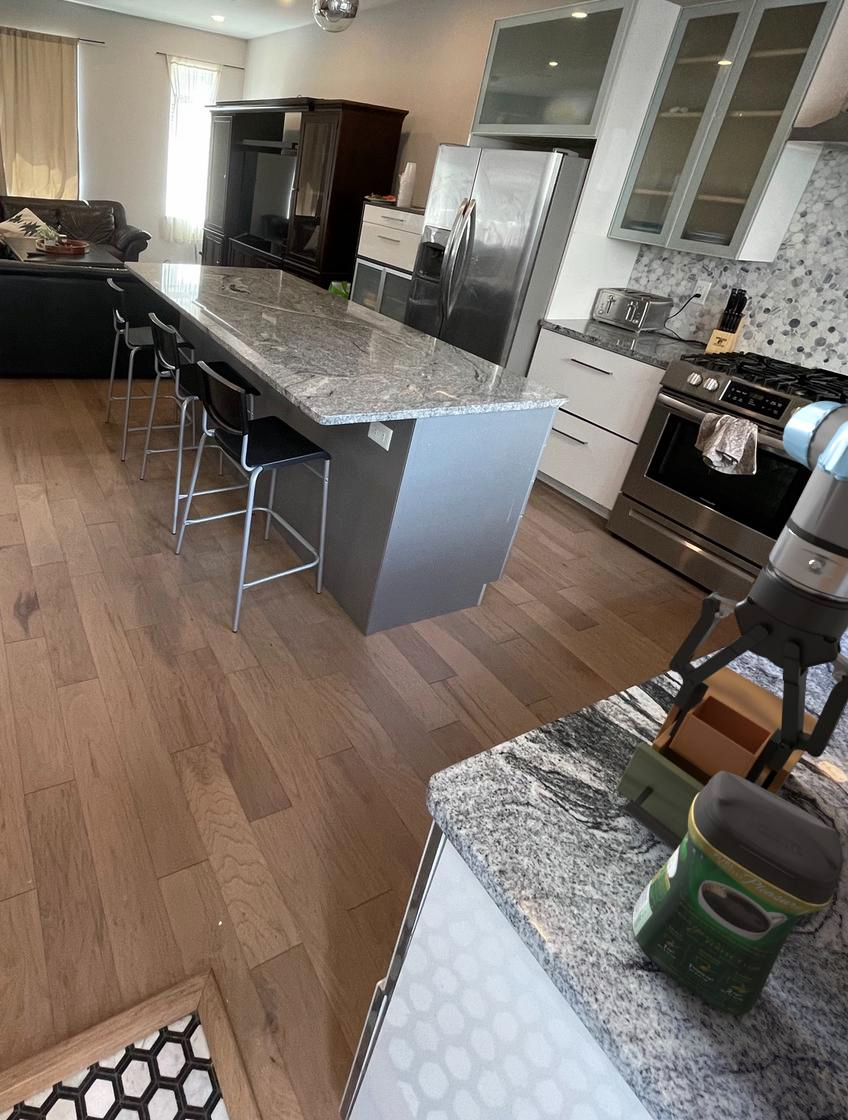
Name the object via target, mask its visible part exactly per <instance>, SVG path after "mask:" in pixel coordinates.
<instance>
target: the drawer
mask: <svg viewBox="0 0 848 1120" xmlns="http://www.w3.org/2000/svg"><path fill="white" fill-rule="evenodd" d="M675 723H676V722H675ZM675 723H673V724H672V725H671V726H670V727H669V728H668V729H667V730H666V731H665V732H664V733H663V734H662V735H661V736H660V737H659V738H658V739H657V740H656V741H655V742H654V741H653V742H654V743H653V742H652V744H653V745H652V744H651V746H649V745H648V744H646V743H645V742H644V741H642V742H640V743H639V744H638V745H637V747H636V749H635V751H634V753H633V754H632V756H631V758H630V760H629V762H628V764H627V766H626V768H625V770H624V772H623V774H622V776H621V778H620V780H619V782H618V784H617V786H616V788H615V790H616V791H617V792H618V793H620V795H622V796H623V797H624V798H625V799H627V800H628V801H627V802H626V804H625V806H624V808H623V811H624V812H625V813H627V814H628V815H630V816H631V817H632V819H634V820H636V821H637V822H638V823H639V824H641V825H642V826H643V827H644V828H645V829H646V830H648V831H649V832H650V833H651V834H653V835H654V836H656V838H658V839H659V840H660V841H661V842H663V843H664V844H665V845H667V846H668V847H669V848H670V849H671V850H672V851H674V852H675V851H676V850H677V848H678V847H679V845H680V844H681V842H682V841H683V839H684V837H685V835H686V834H687V832H688V817H689V811H690V808H691V805H692V803H693V800H694V799H695V797H696V795H697V794H698V793H699V792H701V790H702V789H703V788H704V787H705V786H706V785H707V784H708V782H709V780H710V779H712V777H711V776H710V775H708V774H707V773H705V772H704V771H702V770H701V769H700V768H698V767H697V766H695V765H694V764H693V763H691V762H690V761H688V760H687V759H685V758H684V757H683V756H681V755H680V754H678V753H677V752H675V751H674V750H673V749H671V748H670V747H669V746H670V745H671V743H672V741H673V739H674V738H673V737H671V736H670V735H669V734H670V732H671V730H672V728H673V727H674V725H675ZM772 770H773V769H772V768H771V767H769V766H768V765H766V767H765V768H764V770H763V771H762V773H761V775H760V776H759V778H758V779H757V781H756V782H755V783H754V784H755V785H757V786H759V787H762V785H763V784H764V782H765V781H766V779H767V778H768V776H769V774H770V773H771V771H772Z"/></svg>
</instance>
